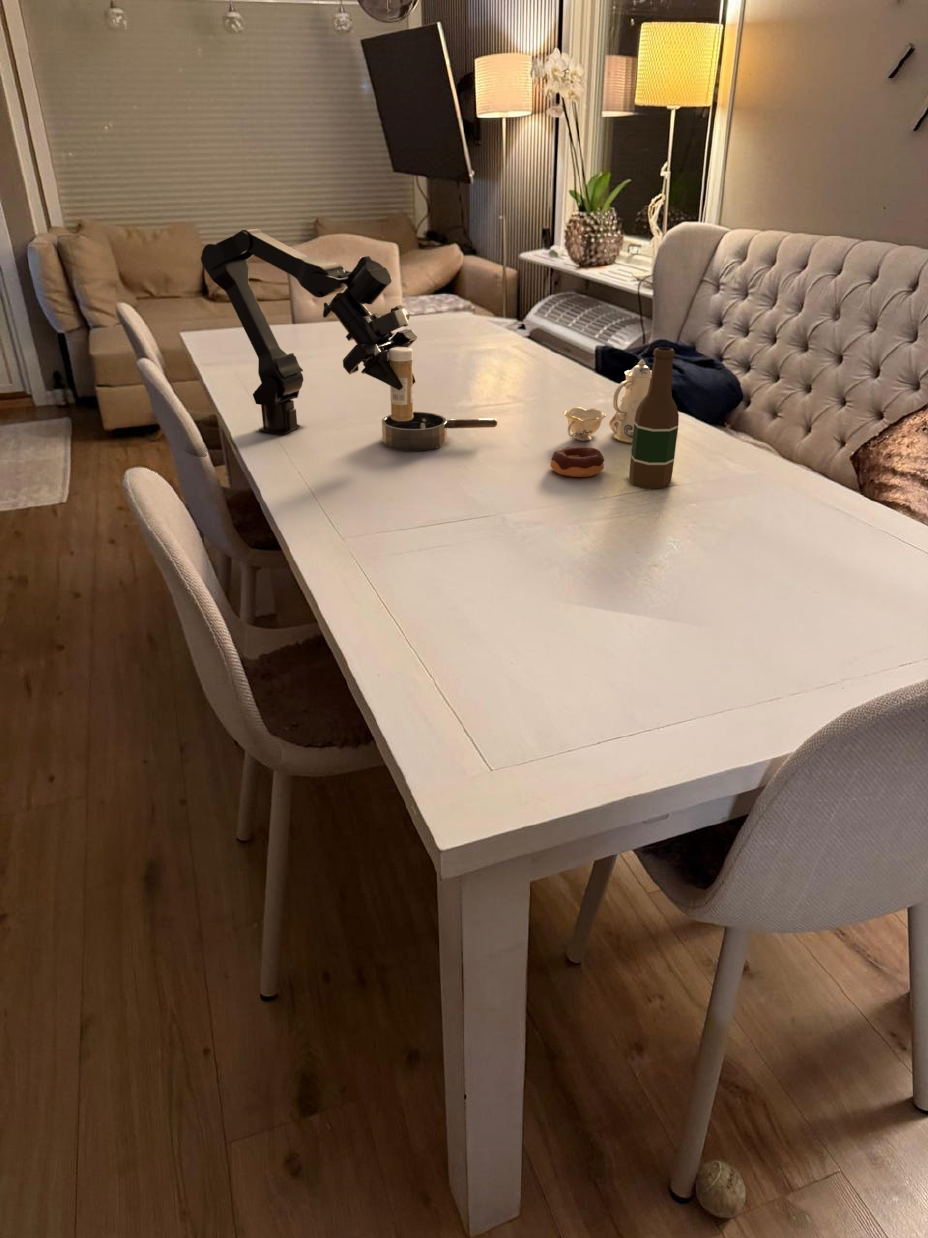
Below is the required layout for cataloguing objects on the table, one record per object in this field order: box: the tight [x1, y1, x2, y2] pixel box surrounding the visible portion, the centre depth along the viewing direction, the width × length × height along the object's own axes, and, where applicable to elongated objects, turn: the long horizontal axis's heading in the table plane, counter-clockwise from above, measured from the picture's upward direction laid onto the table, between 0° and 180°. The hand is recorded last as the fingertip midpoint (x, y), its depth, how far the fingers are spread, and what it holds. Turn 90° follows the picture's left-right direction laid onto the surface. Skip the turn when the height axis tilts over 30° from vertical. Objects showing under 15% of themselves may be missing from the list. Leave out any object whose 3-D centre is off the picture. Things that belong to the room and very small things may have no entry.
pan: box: [381, 411, 448, 452], centre depth 184 cm, size 13×13×4 cm
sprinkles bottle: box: [389, 347, 414, 421], centre depth 173 cm, size 5×5×13 cm
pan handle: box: [446, 418, 498, 429], centre depth 185 cm, size 11×2×2 cm, turn 96°
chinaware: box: [562, 358, 652, 444], centre depth 187 cm, size 28×17×17 cm, turn 135°
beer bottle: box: [628, 346, 680, 489], centre depth 159 cm, size 8×8×24 cm
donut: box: [549, 446, 605, 478], centre depth 169 cm, size 10×10×4 cm
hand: (407, 386), depth 173 cm, fingers closed on sprinkles bottle, 4 cm apart
